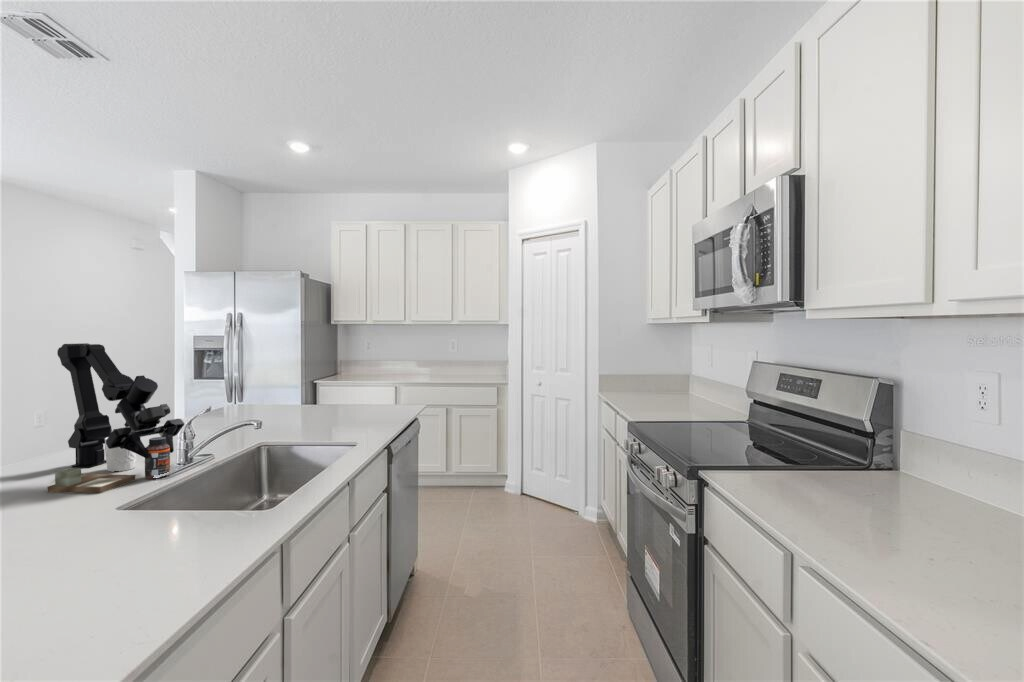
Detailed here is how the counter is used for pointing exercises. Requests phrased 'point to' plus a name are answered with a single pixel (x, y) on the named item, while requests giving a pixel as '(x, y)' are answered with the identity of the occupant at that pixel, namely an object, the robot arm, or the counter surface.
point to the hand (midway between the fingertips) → (160, 454)
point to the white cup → (119, 459)
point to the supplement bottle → (157, 457)
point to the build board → (86, 481)
